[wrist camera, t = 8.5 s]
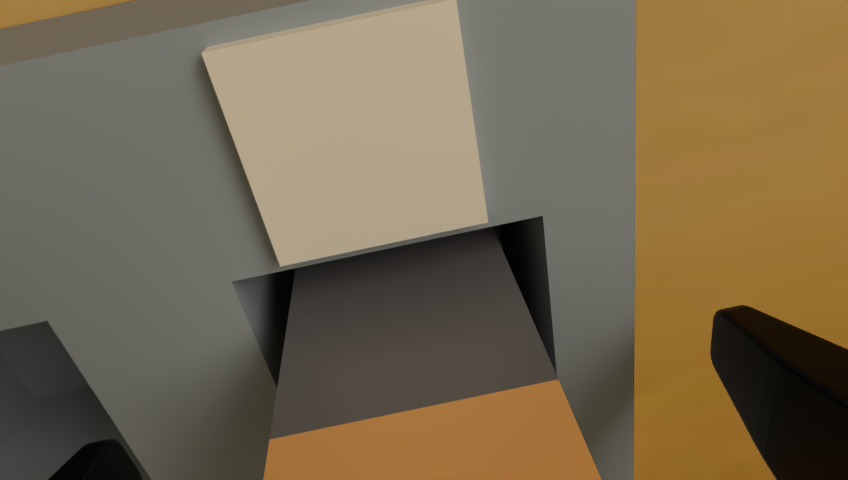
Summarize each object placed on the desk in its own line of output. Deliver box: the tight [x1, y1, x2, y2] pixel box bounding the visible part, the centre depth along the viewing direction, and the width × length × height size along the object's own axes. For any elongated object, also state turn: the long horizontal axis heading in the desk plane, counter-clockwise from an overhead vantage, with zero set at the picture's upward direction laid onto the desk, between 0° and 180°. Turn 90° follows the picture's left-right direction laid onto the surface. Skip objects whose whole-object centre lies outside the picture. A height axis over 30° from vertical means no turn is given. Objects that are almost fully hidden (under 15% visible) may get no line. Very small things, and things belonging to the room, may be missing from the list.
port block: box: [0, 0, 636, 480], centre depth 11 cm, size 11×14×5 cm
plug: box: [263, 226, 601, 480], centre depth 9 cm, size 3×3×8 cm
